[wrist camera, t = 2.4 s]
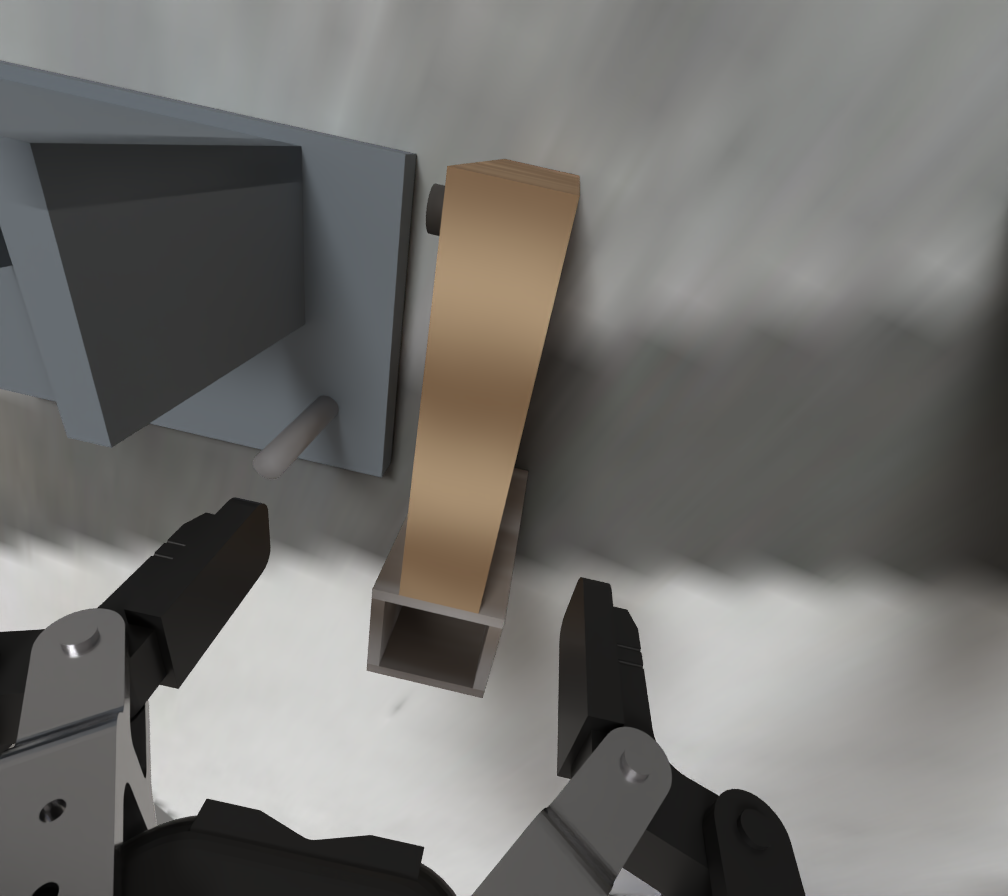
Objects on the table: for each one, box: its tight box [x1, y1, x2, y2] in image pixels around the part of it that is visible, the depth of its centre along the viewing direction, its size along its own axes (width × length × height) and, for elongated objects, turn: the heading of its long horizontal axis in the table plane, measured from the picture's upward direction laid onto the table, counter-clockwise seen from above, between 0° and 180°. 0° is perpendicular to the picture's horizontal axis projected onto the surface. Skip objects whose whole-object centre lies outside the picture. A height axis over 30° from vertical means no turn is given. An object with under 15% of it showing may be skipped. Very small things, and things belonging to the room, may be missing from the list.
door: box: [367, 159, 580, 698], centre depth 20 cm, size 19×5×10 cm, turn 169°
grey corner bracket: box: [0, 60, 416, 479], centre depth 19 cm, size 21×15×12 cm
